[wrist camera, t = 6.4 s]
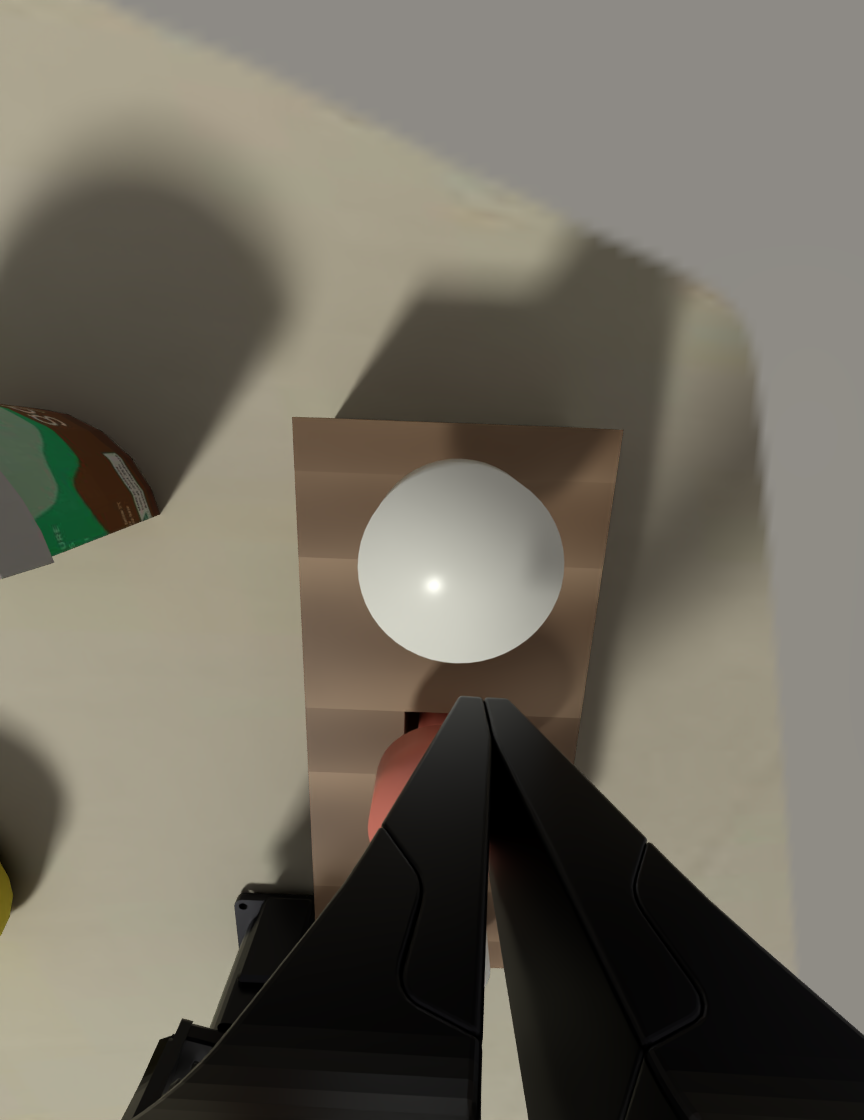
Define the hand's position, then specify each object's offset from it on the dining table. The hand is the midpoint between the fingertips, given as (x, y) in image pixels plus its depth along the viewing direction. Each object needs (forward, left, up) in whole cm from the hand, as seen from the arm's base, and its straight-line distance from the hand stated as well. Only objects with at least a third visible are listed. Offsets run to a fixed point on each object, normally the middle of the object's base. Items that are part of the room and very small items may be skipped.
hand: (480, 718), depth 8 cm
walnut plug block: (-7, 0, -14) cm, 15 cm away
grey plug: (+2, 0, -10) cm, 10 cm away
